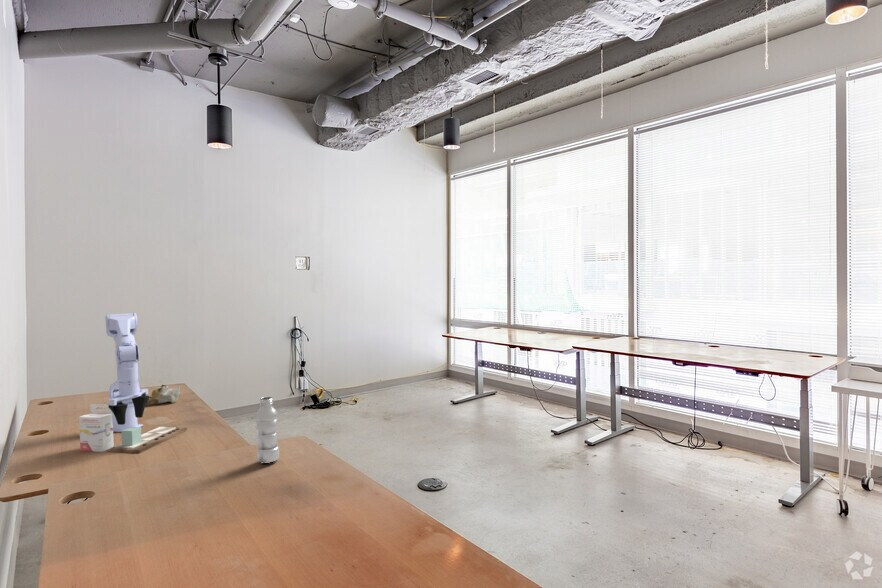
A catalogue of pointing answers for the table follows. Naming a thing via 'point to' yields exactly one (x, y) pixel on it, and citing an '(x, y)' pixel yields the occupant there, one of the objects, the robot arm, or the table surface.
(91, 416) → the ink cartridge box
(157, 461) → the table surface
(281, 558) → the table surface
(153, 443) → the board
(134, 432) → the sage block
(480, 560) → the table surface
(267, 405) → the plastic bottle
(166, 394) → the ceramic sculpture
